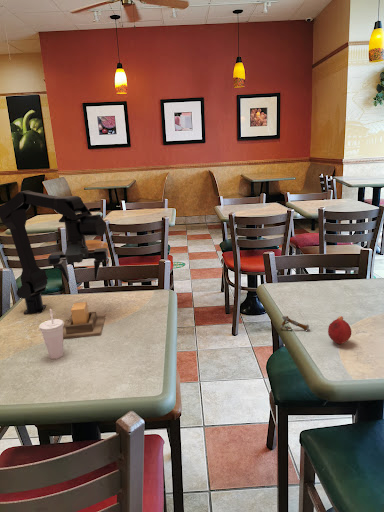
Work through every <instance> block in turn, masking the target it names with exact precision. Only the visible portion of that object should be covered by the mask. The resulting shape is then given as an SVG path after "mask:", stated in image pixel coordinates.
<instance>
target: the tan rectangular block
mask: <svg viewBox="0 0 384 512" xmlns="http://www.w3.org/2000/svg"><path fill="white" fill-rule="evenodd" d="M71 307H72V308H71V309H70V312H71V314H72V320H73V325H74V324H84V323H89V320H90V318H89V312H90V311H89V306H88V301H82V302H74V303H73V305H72V306H71ZM71 314H70V315H71Z"/></svg>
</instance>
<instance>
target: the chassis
mask: <svg viewBox="0 0 384 512" xmlns="http://www.w3.org/2000/svg"><path fill="white" fill-rule="evenodd" d="M89 318H90V320H89V323H84V324H74V325H73V320H72V314H70V317H69V318H68V319H65V321H64V322H63V324H64V326H63V340H70V339H77V338H78V339H79V338H86V337H87V338H88V337H97V336H101V335H102V332H103V328H104V325H105V320H106V315H102V316H101V315H100V316H98V315H97V311H89Z"/></svg>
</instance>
